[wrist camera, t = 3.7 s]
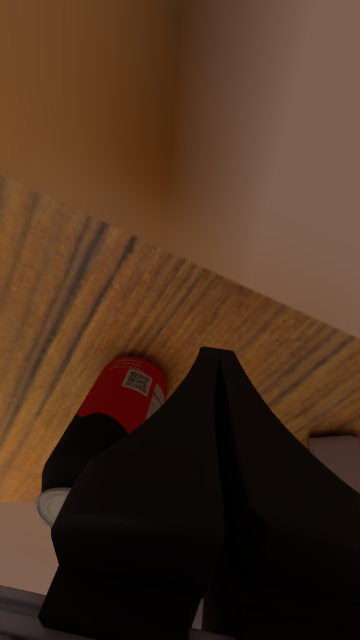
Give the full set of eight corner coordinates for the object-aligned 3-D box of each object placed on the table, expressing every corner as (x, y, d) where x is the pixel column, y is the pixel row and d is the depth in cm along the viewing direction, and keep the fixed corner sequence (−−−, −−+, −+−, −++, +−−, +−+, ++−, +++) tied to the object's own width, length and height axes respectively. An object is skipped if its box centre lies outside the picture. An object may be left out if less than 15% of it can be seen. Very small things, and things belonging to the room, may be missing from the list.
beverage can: (117, 339, 23) (34, 468, 13) (180, 369, 24) (151, 515, 14) (96, 386, 26) (16, 522, 16) (154, 411, 27) (113, 558, 16)
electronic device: (360, 491, 29) (423, 628, 20) (314, 493, 30) (354, 623, 21) (361, 426, 25) (442, 564, 16) (307, 431, 26) (355, 561, 17)
